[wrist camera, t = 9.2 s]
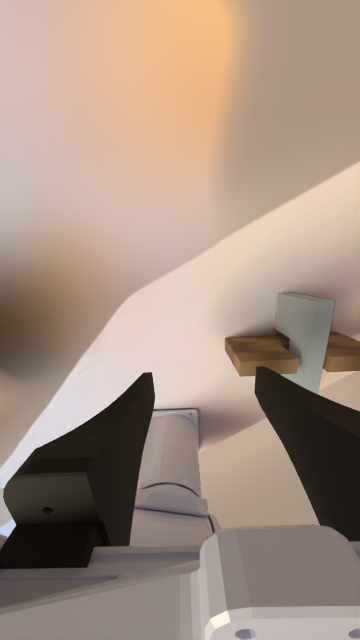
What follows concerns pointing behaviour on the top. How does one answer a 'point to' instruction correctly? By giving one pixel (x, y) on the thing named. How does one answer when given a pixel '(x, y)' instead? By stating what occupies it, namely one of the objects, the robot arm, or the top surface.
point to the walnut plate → (289, 354)
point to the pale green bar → (305, 334)
